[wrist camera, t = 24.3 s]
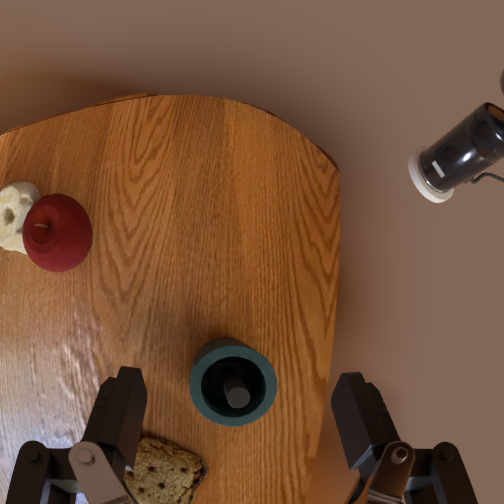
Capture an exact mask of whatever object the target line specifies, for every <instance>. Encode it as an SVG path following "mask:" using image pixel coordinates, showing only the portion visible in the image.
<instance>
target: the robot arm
mask: <svg viewBox="0 0 504 504" xmlns="http://www.w3.org/2000/svg"><path fill="white" fill-rule="evenodd" d="M500 87H501V90H502V93H503V95H504V69H503V71H502V73H501V77H500ZM502 158H504V109H502V108H500V107H498V106H497V105H495V104H493V103H490V102H484V103H483V104H481V105H480V106H479V107H477V108H476V109H475V110H474V111H473V112H471V113H470V114H469V115H468V116H466V117H465V118H464V119H463V120H462V121H461V122H459V123H458V124H457V125H456V126H454V127H453V128H452V129H451V130H450V131H448V132H447V133H446V134H445V135H443V136H442V137H441V138H440V139H438V140H437V141H436V142H435V143H433V144H432V145H431V146H430V147H429V148H427V149H426V150H424V151H423V152H421V153H420V155H419V157H418V167H419V170H420V173H421V175H422V177H423V179H424V180H425V182H426V183H427V185H428V186H429V187H430V188H431V189H433V190H434V191H435V192H437V193H440V194H444V193H447V192H448V191H450V190H451V189H453V188H455V187H457V186H459V185H460V184H462V183H467V182H469V181H470V180H471V182H472V183H477V182H478V181H479V180H480V179H481V178H483V177H485V176H491V177H493V178H495V179H498V180H500V181H502V182H504V179H503V178H501V177H499V176H496V175H494V174H492V173H482V174H481V175H479V176H478V177H477V178H476V179H474V176H476V175H477V174H479V173H480V172H482V171H483V170H485V169H486V168H488V167H490V166H491V165H493V164H494V163H496V162H498V161H499V160H501V159H502ZM146 405H147V391H146V387H145V383H144V380H143V376H142V372H141V369H140V368H133V367H126V366H121V368H120V370H119V373H118V376H117V378H113V377H109V378H108V379H107V380H106V381H105V382H104V383H103V384H102V385H101V387H100V390H99V392H98V395H97V398H96V401H95V403H94V407H93V409H92V412H91V415H90V418H89V421H88V424H87V427H86V430H85V433H84V436H83V438H82V440H81V441H80V442H79V443H76V444H75V445H74V446H73V447H71V448H65V449H54V448H46V447H45V446H44V445H43V444H42V443H40V442H38V441H28V442H26V443H24V444H23V445H22V446H21V448H20V450H19V454H18V457H17V460H16V463H15V467H14V471H13V474H12V478H11V482H10V486H9V490H8V494H7V499H6V504H75V501H76V495H77V493H84V495H85V497H86V499H87V501H88V503H89V504H140V503H139V502H138V500H137V499H136V497H135V496H134V494H133V493H132V491H131V490H130V488H129V486H128V485H127V483H126V481H125V480H124V473H125V469H127V470H132V471H133V470H134V464H135V459H136V453H137V448H138V443H139V438H140V433H141V428H142V423H143V418H144V414H145V409H146ZM331 407H332V411H333V414H334V417H335V421H336V424H337V428H338V431H339V435H340V438H341V442H342V445H343V449H344V452H345V456H346V459H347V463H348V466H349V470H355V469H359V472H360V475H359V476H358V478H357V480H356V482H355V484H354V486H353V488H352V490H351V491H350V493H349V495H348V497H347V499H346V501H345V503H344V504H403V503H402V502H401V499H402V496H403V494H404V498H405V502H406V504H478V502H477V499H476V496H475V493H474V490H473V488H472V485H471V482H470V479H469V477H468V474H467V472H466V469H465V466H464V464H463V461H462V459H461V456H460V454H459V451H458V449H457V448H456V447H455V446H454V445H453V444H451V443H449V442H441V443H439V444H438V445H436V446H435V447H434V448H433V449H414V448H412V447H411V446H410V445H409V444H407V443H406V442H402V441H401V440H400V438H399V436H398V433H397V431H396V429H395V426H394V424H393V422H392V419H391V417H390V414H389V412H388V411H387V407H386V405H385V403H384V402H383V398H382V396H381V394H380V392H379V390H378V389H377V388H376V387H375V386H374V385H373V384H372V383H371V382H370V383H366V382H365V380H364V378H363V375H362V374H361V373H360V372H350V373H342V374H341V376H340V378H339V380H338V382H337V385H336V387H335V390H334V391H333V394H332V397H331Z"/></svg>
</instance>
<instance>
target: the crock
mask: <svg viewBox="0 0 504 504" xmlns="http://www.w3.org/2000/svg"><path fill="white" fill-rule="evenodd" d="M217 360H244V361H245V381H246V384H245V385H244V386H245V387H246V389H247V390H248V392H249V394H250V400H249V403H248V404H247V405H246V406H244V407H242V408H235V407H232V406H231V405H230V404H229V403H228V401H227V398H226V395H225V391H224V388H223V385H210V379H209V366H210V365H211V364H213V363H214V362H216V361H217ZM189 385H190V396H191V398H192V401H193V403H194V406H195V407H196V408H197V410H198V411H199V412H200V413H201V414H202V415H203V416H204V417H205V418H207V419H209V420H210V421H212V422H213V423H216V424H220V425H224V426H228V427H234V426H243V425H246V424H249V423H252V422H254V421H256V420H257V419H259V418H260V417H262V416H263V415H264V414H265V413H266V412H267V411H268V410H269V408H270V407H271V406H272V404H273V402H274V399H275V396H276V393H277V378H276V375H275V372H274V369H273V367H272V366H271V364H270V363H269V362H268V360H267V359H266V358H265V357H264V356H263V355H261V354H260V353H258V352H257V351H255V350H254V349H252V348H251V347H249V346H248V345H246V344H244V343H243V342H241V341H238V340H235V339H231V338H221V339H216V340H213V341H211V342H209V343H207V344H206V345H204V346H203V347H202V348H201V349H200V350H199V352H198V353H197V355H196V357H195V360H194V363H193V366H192V371H191V376H190V381H189Z"/></svg>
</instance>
